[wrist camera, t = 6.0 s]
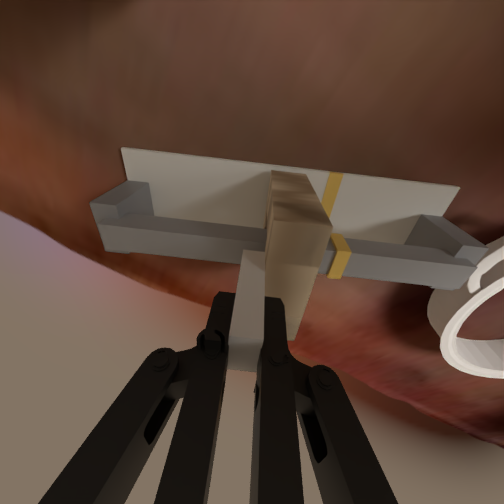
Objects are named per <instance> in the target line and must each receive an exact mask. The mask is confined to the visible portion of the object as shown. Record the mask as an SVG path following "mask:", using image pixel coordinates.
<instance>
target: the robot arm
mask: <svg viewBox="0 0 504 504" xmlns="http://www.w3.org/2000/svg"><path fill="white" fill-rule="evenodd" d="M285 320H286V318H285V305H284V304H283V302H282V300H281V298H276V297H267V296H265V252H261V251H252V250H244V249H243V254H242V260H241V266H240V272H239V278H238V284H237V290H236V293H229V292H220V291H219V292H218V294H217V295H216V296H215V297H214V300H213V303H212V307H211V311H210V314H209V318H208V321H207V325H206V329H204V330H203V331H201V332H200V333H199V335H198V337H197V346H195V347H193V348H192V349H188V350H184V351H180V352H175V351H174V350H172V349H171V348H160V349H157V350H155V351H153V352H152V353H151V354H150V355H149V356H148V357H147V358H146V359H145V361H144V362H143V363H142V365H141V366H140V367H139V369H138V370H137V371H136V373H135V374H134V376H133V377H132V378H131V379H130V381H129V382H128V383H127V385H126V386H125V388H124V389H123V390H122V392H121V393H120V394H119V396H118V397H117V398H116V400H115V401H114V403H113V404H112V405H111V406H110V408H109V409H108V410H107V412H106V413H105V415H104V416H103V417H102V418H101V420H100V421H99V422H98V424H97V425H96V427H95V428H94V429H93V430H92V432H91V433H90V434H89V436H88V437H87V438H86V440H85V441H84V443H83V444H82V445H81V447H80V448H79V449H78V451H77V452H76V454H75V455H74V456H73V457H72V459H71V460H70V461H69V463H68V464H67V465H66V467H65V468H64V469H63V471H62V472H61V474H60V475H59V476H58V477H57V479H56V480H55V481H54V483H53V484H52V486H51V487H50V488H49V490H48V491H47V492H46V494H45V495H44V496H43V498H42V499H41V500H40V502H39V503H38V504H124V503H125V501H126V500H127V498H128V496H129V494H130V492H131V490H132V488H133V486H134V484H135V482H136V481H137V478H138V477H139V475H140V473H141V471H142V469H143V467H144V465H145V463H146V462H147V460H148V458H149V456H150V453H151V452H152V450H153V448H154V446H155V444H156V443H157V441H158V439H159V437H160V435H161V433H162V431H163V429H164V427H165V426H166V424H167V422H168V420H169V418H170V416H171V414H172V412H173V410H174V408H175V407H176V405H177V403H178V401H179V399H180V398H183V397H184V399H183V402H182V406H181V409H180V413H179V416H178V420H177V423H176V427H175V431H174V434H173V438H172V441H171V445H170V448H169V452H168V456H167V459H166V463H165V466H164V470H163V473H162V477H161V480H160V484H159V487H158V491H157V494H156V498H155V501H154V504H207V501H208V494H209V487H210V481H211V474H212V467H213V461H214V454H215V447H216V441H217V434H218V427H219V421H220V413H221V407H222V401H223V394H224V387H225V379H226V371H227V369H232V370H240V371H249V372H257V380H256V384H255V389H254V393H255V401H254V422H253V445H252V464H251V484H250V504H304V497H303V485H302V474H301V462H300V451H299V439H298V428H297V416H296V411H297V415H298V418H299V421H300V425H301V428H302V432H303V435H304V439H305V442H306V446H307V449H308V452H309V456H310V459H311V462H312V466H313V470H314V473H315V476H316V480H317V483H318V487H319V490H320V494H321V497H322V501H323V504H398V502H397V500H396V498H395V496H394V493H393V492H392V489H391V487H390V485H389V483H388V481H387V479H386V477H385V475H384V473H383V470H382V468H381V466H380V464H379V462H378V460H377V457H376V455H375V453H374V451H373V449H372V447H371V445H370V443H369V441H368V438H367V436H366V434H365V432H364V430H363V428H362V426H361V424H360V422H359V420H358V417H357V415H356V413H355V411H354V409H353V407H352V405H351V403H350V400H349V399H348V396H347V394H346V392H345V390H344V388H343V386H342V383H341V381H340V379H339V377H338V376H337V374H336V373H335V372H334V371H333V370H331V368H329V367H327V366H325V365H317V366H314V367H310V366H307V365H305V364H303V363H301V362H299V361H298V360H296V359H295V358H294V357H293V356H292V355H291V353H290V351H289V349H288V344H287V331H286V321H285Z"/></svg>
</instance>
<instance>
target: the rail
mask: <svg viewBox="0 0 504 504" xmlns="http://www.w3.org/2000/svg"><path fill="white" fill-rule="evenodd" d="M121 152H122V157H123V161H124V166H125V170H126V175H127V179H128V180H127V181H125V182H124V183H122V184H120V185H118V186H117V187H115V188H113V189H111V190H110V191H108V192H106V193H104V194H103V195H101V196H99V197H98V198H96V199H94V200H92V201H91V202H89V204H90V207H91V210H92V213H93V216H94V219H95V222H96V225H97V228H98V230H99V233H100V236H101V239H102V242H103V245H104V248H105V251H108V252H117V253H125V254H129V253H130V252H136V253H145V254H154V255H163V256H171V257H180V258H189V259H198V260H207V261H216V262H224V263H233V264H241V260H242V254H243V249H244V250H252V251H261V252H265V246H266V240H267V229H263V224H264V217H265V210H266V203H267V196H268V189H269V182H270V175H271V170H275V171H284V172H293V173H301V174H306V175H307V177H308V179H309V181H310V183H311V185H312V187H313V189H314V190H315V192H316V194H317V196H318V198H319V200H320V202H321V204H322V206H323V208H324V210H325V212H326V214H327V216H328V218H329V220H330V222H331V223H332V225H333V230H332V233H331V236H330V238H329V241H328V244H327V247H326V250H325V253H324V256H323V259H322V262H321V264H320V267H319V270H318V273H321V274H326V275H327V278H334V279H340V278H341V276H348V277H357V278H366V279H374V280H383V281H392V282H401V283H410V284H419V285H427V286H429V287H430V288H435V289H443V290H452V291H454V290H455V289H460V288H461V286H462V285H463V284H464V283H465V282H466V281H467V280H468V278H469V277H470V276H471V275H472V274H473V273H474V271H475V270H476V269H477V268H478V267H477V266H475V265H476V264H477V263H478V261H479V260H480V259H481V258H482V257H483V256H484V254H485V253H486V252H487V251H488V250H489V249H490V248H488V247H487V246H485V245H484V244H482V243H481V242H479V241H478V240H476V239H475V238H473V237H472V236H470V235H469V234H467V233H466V232H464V231H463V230H461V229H460V228H458V227H457V226H455V225H454V224H452V223H451V222H449V221H448V220H446V219H445V218H443V217H442V216H443V214H444V213H445V211H446V210H447V208H448V206H449V205H450V203H451V202H452V200H453V199H454V197H455V196H456V194H457V192H458V191H459V189H460V187H458V186H454V185H445V184H437V183H428V182H420V181H411V180H402V179H394V178H385V177H377V176H368V175H360V174H351V173H342V172H334V171H325V170H317V169H308V168H300V167H291V166H282V165H274V164H265V163H257V162H248V161H240V160H231V159H223V158H214V157H205V156H197V155H188V154H180V153H171V152H163V151H154V150H145V149H137V148H128V147H122V148H121Z"/></svg>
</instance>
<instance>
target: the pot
mask: <svg viewBox="0 0 504 504" xmlns="http://www.w3.org/2000/svg"><path fill="white" fill-rule="evenodd" d="M485 246H487V247H488V248H490V249H489V250H488V251H487V252H486V253H485V254H484V256H483V257H482V258H481V259H480V260H479V261H478V263H477V264H476V265H475V266H477V267H478V268H477V269H476V270H475V271H474V273H473V274H472V275H471V276H470V277H469V278H468V280H467V281H466V282H465V283H464V284H463V285H462V286H461V288H460V289H455V290H454V291H452V290H443V289H435V290H434V291H433V293H432V295H431V297H430V300H429V303H428V308H427V316H428V319H429V322H430V324H431V326H432V327H433V328H434V330H435V331H436V333H437V334H438V335H439V337H440V350H441V353H442V356H443V357H444V359H445V360H446V361H447V362H448V363H449V364H450V365H451V366H453V367H455V368H456V369H458V370H460V371H463V372H466V373H469V374H472V375H476V376H482V377H488V378H504V339H501V340H485V341H483V340H468V339H463V338H458V337H456V335H457V333H458V331H459V329H460V327H461V325H462V323H463V322H464V321H465V320H466V318H467V317H468V316H469V315H470V314H471V313H472V312H473V311H474V310H475V309H476V308H477V307H478V306H480V305H481V304H482V303H483V302H484V301H485V300H487V299H488V298H490V297H491V296H493V295H494V294H496V293H497V292H499V291H500V290H502V289H503V288H504V236H503V237H501V238H499V239H497V240H495V241H493V242H491V243H489V244H487V245H485Z"/></svg>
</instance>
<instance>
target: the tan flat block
mask: <svg viewBox="0 0 504 504" xmlns="http://www.w3.org/2000/svg"><path fill="white" fill-rule="evenodd" d="M263 229H267V240H266V246H265V296H267V297H276V298H281V300H282V302H283V304H284V305H285V318H286V320H285V321H286V331H287V340H292V341H294V339H295V336H296V334H297V331H298V328H299V325H300V322H301V319H302V316H303V313H304V310H305V308H306V305H307V302H308V299H309V296H310V293H311V290H312V287H313V285H314V282H315V279H316V276H317V273H318V270H319V267H320V264H321V262H322V259H323V256H324V253H325V250H326V247H327V244H328V241H329V238H330V236H331V233H332V230H333V225H332V223H331V222H330V220H329V218H328V216H327V214H326V212H325V210H324V208H323V206H322V204H321V202H320V200H319V198H318V196H317V194H316V192H315V190H314V189H313V187H312V185H311V183H310V181H309V179H308V177H307V175H306V174H301V173H293V172H284V171H275V170H271V175H270V182H269V189H268V196H267V203H266V210H265V217H264V224H263Z"/></svg>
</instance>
